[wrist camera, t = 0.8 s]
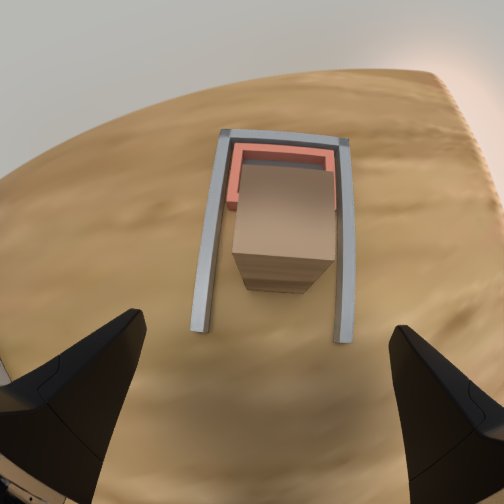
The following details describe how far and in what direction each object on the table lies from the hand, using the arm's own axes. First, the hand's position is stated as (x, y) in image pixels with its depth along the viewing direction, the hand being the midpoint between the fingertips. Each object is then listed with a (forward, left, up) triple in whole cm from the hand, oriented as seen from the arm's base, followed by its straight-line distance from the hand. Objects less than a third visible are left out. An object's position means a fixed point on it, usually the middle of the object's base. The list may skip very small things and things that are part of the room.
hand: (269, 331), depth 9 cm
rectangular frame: (+7, -11, -13) cm, 19 cm away
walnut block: (+3, -5, -13) cm, 14 cm away
